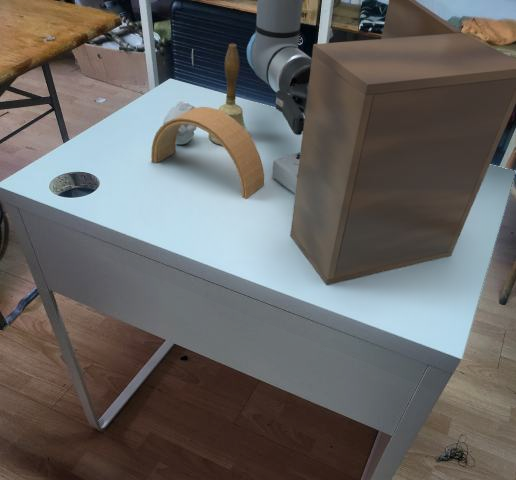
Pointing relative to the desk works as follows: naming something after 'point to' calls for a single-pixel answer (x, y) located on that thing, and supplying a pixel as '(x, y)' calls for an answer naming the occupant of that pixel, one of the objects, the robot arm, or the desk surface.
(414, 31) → the cupboard door
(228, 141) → the arch
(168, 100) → the desk surface
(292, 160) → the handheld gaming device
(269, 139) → the desk surface
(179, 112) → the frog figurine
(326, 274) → the cupboard
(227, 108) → the hand bell
